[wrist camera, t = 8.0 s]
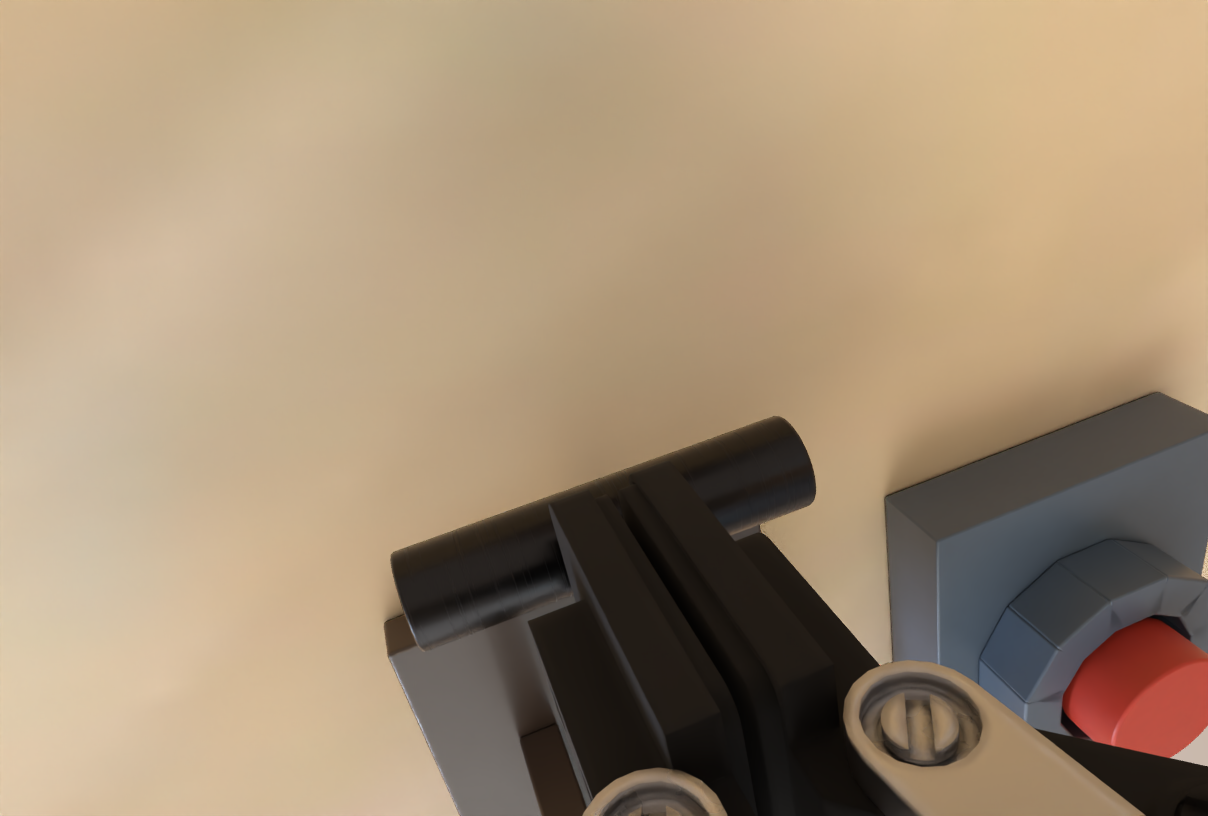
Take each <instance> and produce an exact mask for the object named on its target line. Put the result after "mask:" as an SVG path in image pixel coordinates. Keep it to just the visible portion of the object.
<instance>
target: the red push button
mask: <svg viewBox="0 0 1208 816" xmlns="http://www.w3.org/2000/svg"><path fill="white" fill-rule="evenodd" d="M1062 707H1063V710H1064V712H1065V714H1066V715H1067V717H1068V718H1069V719H1070V720H1071V721H1072V722H1074V723H1075V724H1076V725H1077V726H1078V727H1079V728H1080V729H1081V730H1082V731H1083V732H1084V733H1085V734H1086V735H1087V736H1089V737H1090V738H1091V739H1092V740H1093V741H1094V742H1099V743H1103V744H1108V745H1113V746H1117V747H1122V748H1126V749H1131V750H1135V751H1140V752H1144V753H1149V754H1153V755H1158V756H1162V757H1167V758H1170V757H1172V756H1174V755H1175V754H1177V753H1178V752H1179V751H1181V750H1182V749H1184V748H1185V747H1186V746H1187V745H1189V744H1190V743H1191V742H1192V741H1193V740H1194V739H1195V738H1196V737H1198V736H1199V734H1200V733H1201V732H1202V731H1203V730H1204V729H1205V728H1206V727H1207V726H1208V654H1207V653H1206V652H1204V651H1203V650H1202V649H1200V648H1199V647H1197V646H1196V645H1195V644H1193V643H1192V642H1190V641H1189V640H1188V639H1186V638H1185V637H1184V636H1182V635H1181V634H1179V633H1178V632H1177V631H1175V630H1174V629H1172V628H1171V627H1170V626H1168V625H1167V624H1166V623H1164V622H1163V621H1161V620H1158V619H1155V618H1149V617H1147V618H1145V619H1143V620H1140V621H1138V622H1136V623H1134V624H1131V625H1129V626H1127V627H1125V628H1122V629H1120V630H1118V631H1116V632H1114V633H1113V634H1112V635H1111V636H1110V637H1109V638H1108V639H1107V640H1106V641H1104V642H1103V643H1102V644H1101V645H1100V646H1099V647H1098V648H1097V649H1095V650H1094V651H1093V652H1092V653H1091V654H1090V655H1089V656H1088V657H1087V658H1085V659H1084V660H1083V662H1082V664H1081V665H1080V667H1079V669H1078V670H1077V672H1076V674H1075V676H1074V677H1073V679H1072V681H1071V682H1070V684H1069V686H1068V687H1067V689H1066V691H1065V692H1064V694H1063V701H1062Z"/></svg>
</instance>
